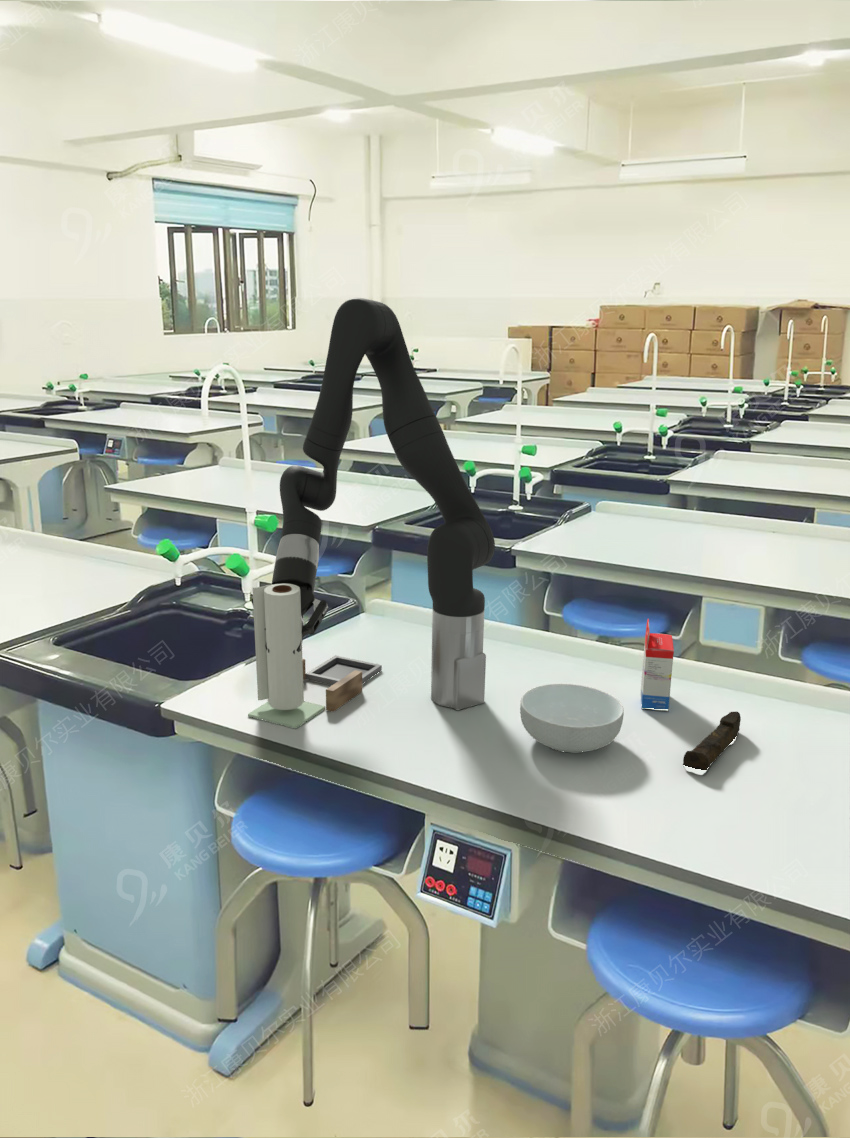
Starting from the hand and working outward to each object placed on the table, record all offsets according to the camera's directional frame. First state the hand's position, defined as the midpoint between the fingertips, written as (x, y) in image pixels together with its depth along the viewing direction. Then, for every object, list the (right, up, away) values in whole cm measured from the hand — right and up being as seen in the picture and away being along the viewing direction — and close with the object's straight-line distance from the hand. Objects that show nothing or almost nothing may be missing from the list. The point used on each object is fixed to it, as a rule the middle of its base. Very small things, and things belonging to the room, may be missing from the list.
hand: (282, 654), depth 157 cm
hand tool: (+71, -16, -6) cm, 73 cm away
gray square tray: (+9, -6, +21) cm, 24 cm away
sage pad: (0, -11, +5) cm, 12 cm away
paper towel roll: (0, -9, +5) cm, 10 cm away
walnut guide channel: (+4, -8, +13) cm, 16 cm away
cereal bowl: (+48, -14, -4) cm, 50 cm away
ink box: (+66, -10, +12) cm, 68 cm away
